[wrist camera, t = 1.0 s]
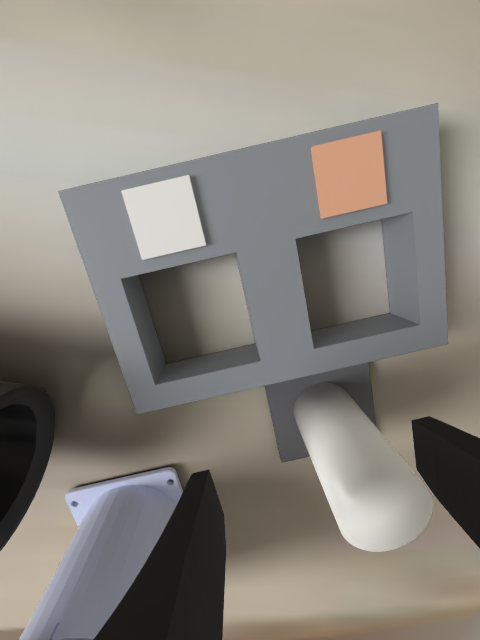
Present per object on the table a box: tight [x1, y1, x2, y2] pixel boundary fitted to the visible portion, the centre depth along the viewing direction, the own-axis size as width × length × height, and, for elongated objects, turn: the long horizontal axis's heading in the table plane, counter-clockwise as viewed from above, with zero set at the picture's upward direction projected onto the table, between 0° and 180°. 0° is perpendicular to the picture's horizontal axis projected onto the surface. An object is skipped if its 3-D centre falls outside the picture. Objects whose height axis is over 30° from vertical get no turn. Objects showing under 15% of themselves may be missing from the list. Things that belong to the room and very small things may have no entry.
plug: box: [294, 382, 433, 552], centre depth 16 cm, size 4×4×8 cm
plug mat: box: [265, 362, 376, 462], centre depth 20 cm, size 7×7×1 cm
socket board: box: [58, 103, 448, 414], centre depth 16 cm, size 12×18×3 cm, turn 103°
